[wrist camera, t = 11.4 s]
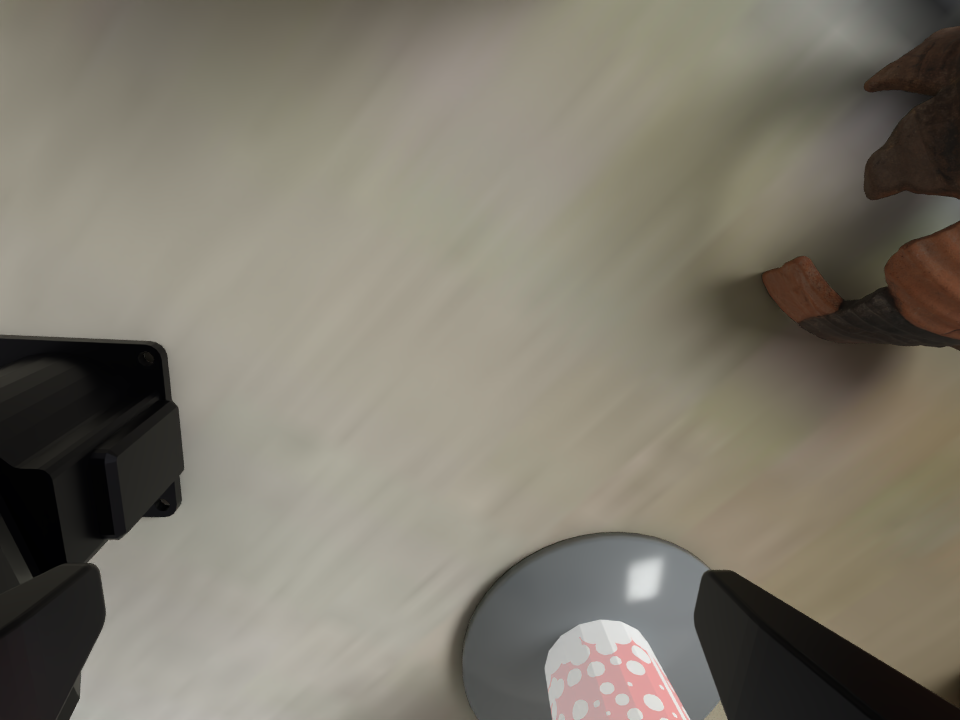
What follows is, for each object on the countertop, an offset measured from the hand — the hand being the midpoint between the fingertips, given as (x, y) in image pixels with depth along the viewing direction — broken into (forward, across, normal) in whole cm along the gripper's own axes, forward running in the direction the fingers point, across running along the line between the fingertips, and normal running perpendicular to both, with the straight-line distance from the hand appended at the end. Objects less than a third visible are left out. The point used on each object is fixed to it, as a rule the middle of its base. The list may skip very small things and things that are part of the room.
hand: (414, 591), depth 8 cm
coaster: (+12, -8, +13) cm, 19 cm away
